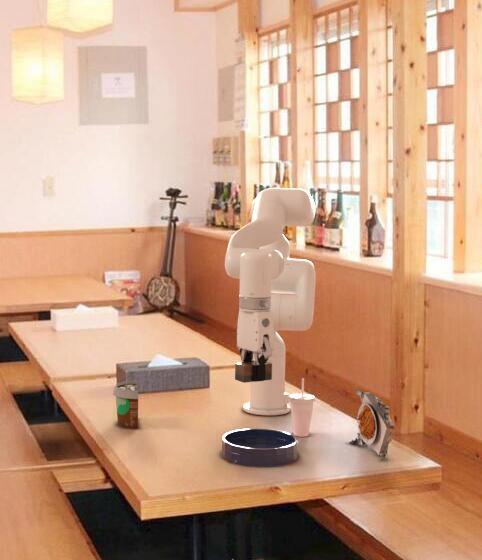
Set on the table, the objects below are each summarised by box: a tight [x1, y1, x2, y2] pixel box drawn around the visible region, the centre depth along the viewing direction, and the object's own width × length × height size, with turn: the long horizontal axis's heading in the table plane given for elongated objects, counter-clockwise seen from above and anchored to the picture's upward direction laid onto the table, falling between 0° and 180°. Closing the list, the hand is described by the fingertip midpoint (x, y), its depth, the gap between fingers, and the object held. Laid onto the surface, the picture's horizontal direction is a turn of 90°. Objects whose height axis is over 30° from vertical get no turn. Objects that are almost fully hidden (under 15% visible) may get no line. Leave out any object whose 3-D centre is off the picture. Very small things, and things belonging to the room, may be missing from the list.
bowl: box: [221, 428, 299, 468], centre depth 241 cm, size 17×17×4 cm
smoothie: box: [289, 377, 316, 438], centre depth 259 cm, size 6×6×14 cm
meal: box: [348, 389, 395, 461], centre depth 245 cm, size 15×4×13 cm, turn 19°
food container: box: [112, 380, 139, 430], centre depth 267 cm, size 12×6×10 cm, turn 5°
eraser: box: [234, 361, 272, 384], centre depth 253 cm, size 8×4×4 cm, turn 120°
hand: (253, 378), depth 253 cm, fingers closed on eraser, 4 cm apart
